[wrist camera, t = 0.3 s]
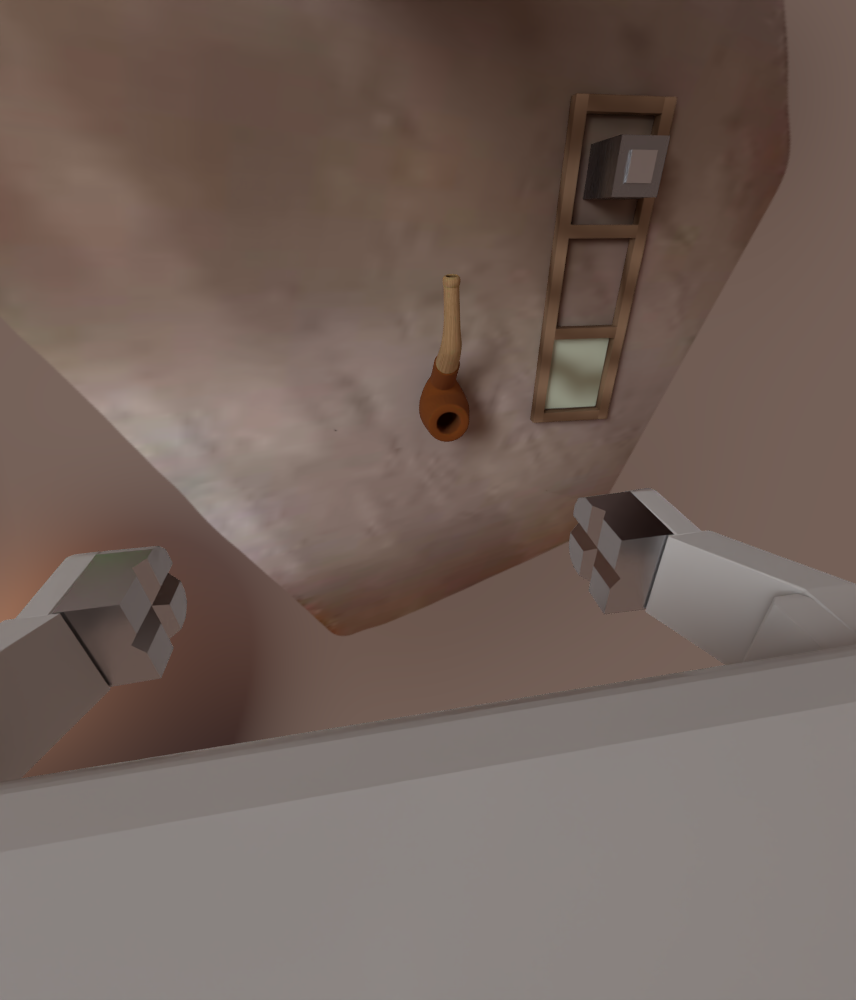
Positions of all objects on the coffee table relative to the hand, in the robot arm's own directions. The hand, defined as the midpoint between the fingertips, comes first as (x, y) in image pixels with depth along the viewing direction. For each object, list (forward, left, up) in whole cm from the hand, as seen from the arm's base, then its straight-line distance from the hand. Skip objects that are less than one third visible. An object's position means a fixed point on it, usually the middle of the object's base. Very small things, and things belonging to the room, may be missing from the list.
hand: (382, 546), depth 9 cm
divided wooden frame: (+1, +26, -46) cm, 53 cm away
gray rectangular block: (-9, +26, -46) cm, 53 cm away
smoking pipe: (+8, +8, -46) cm, 47 cm away
